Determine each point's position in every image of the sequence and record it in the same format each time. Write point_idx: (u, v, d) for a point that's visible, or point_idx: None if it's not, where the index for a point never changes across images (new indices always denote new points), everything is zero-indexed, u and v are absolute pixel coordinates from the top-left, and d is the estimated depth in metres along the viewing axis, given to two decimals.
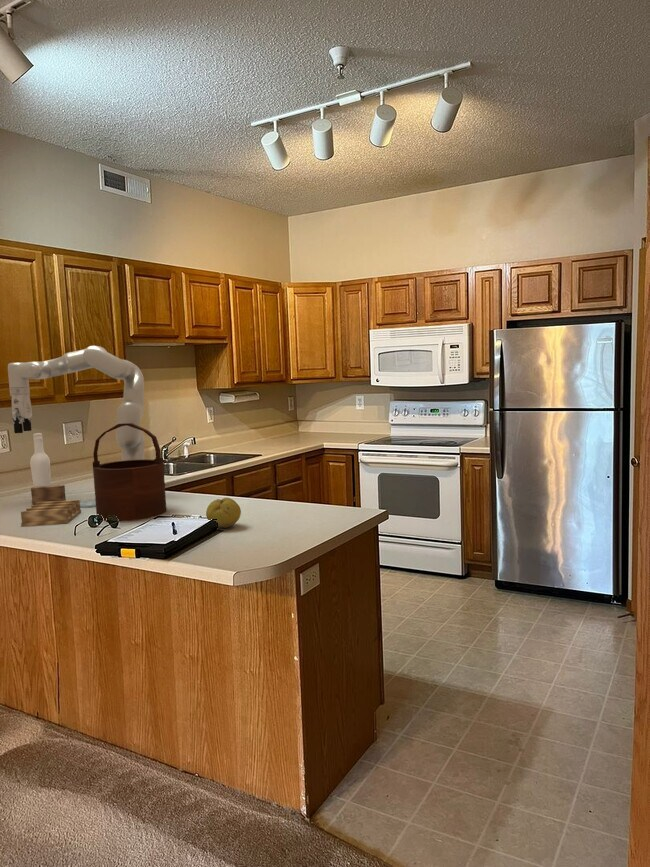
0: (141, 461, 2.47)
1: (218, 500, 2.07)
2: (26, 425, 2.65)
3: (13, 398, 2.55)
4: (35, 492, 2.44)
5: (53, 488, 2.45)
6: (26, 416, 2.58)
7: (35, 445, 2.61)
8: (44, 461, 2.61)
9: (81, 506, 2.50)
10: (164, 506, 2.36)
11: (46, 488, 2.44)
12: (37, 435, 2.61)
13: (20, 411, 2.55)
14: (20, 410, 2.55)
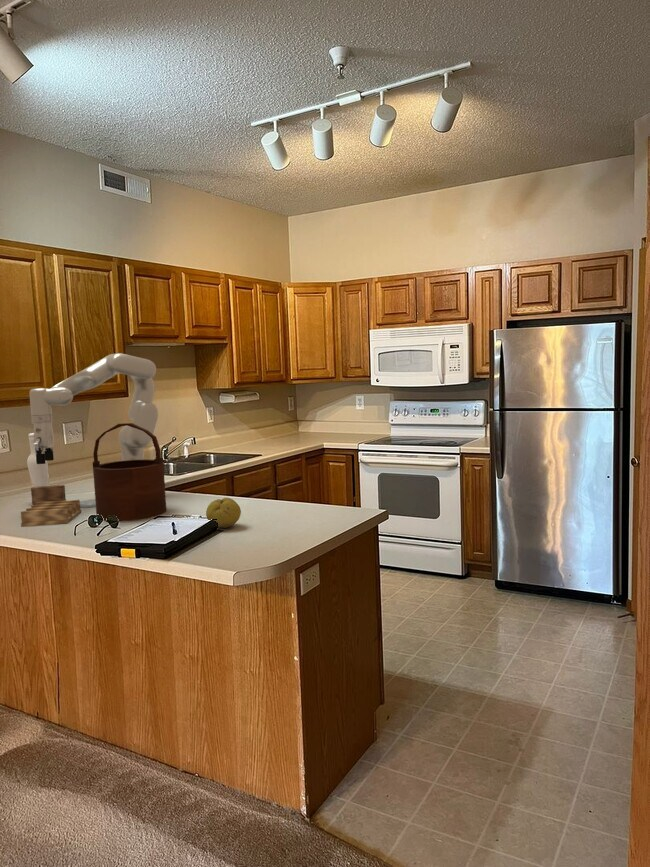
0: (141, 461, 2.47)
1: (218, 500, 2.07)
2: (48, 454, 2.49)
3: (35, 426, 2.39)
4: (35, 492, 2.44)
5: (53, 488, 2.45)
6: (49, 445, 2.42)
7: (31, 446, 2.59)
8: None
9: (81, 506, 2.50)
10: (164, 506, 2.36)
11: (46, 488, 2.44)
12: (32, 436, 2.58)
13: (43, 440, 2.39)
14: (43, 439, 2.39)
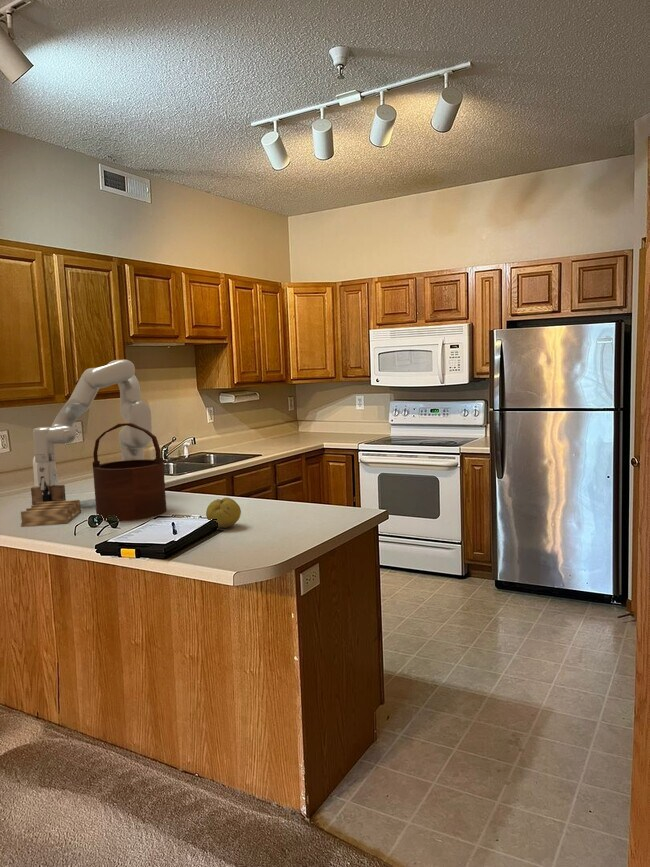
0: (141, 461, 2.47)
1: (218, 500, 2.07)
2: None
3: (39, 466, 2.40)
4: (35, 492, 2.44)
5: (53, 488, 2.44)
6: (52, 484, 2.43)
7: None
8: None
9: (81, 506, 2.50)
10: (164, 506, 2.36)
11: (46, 488, 2.44)
12: None
13: (46, 480, 2.40)
14: (46, 478, 2.40)
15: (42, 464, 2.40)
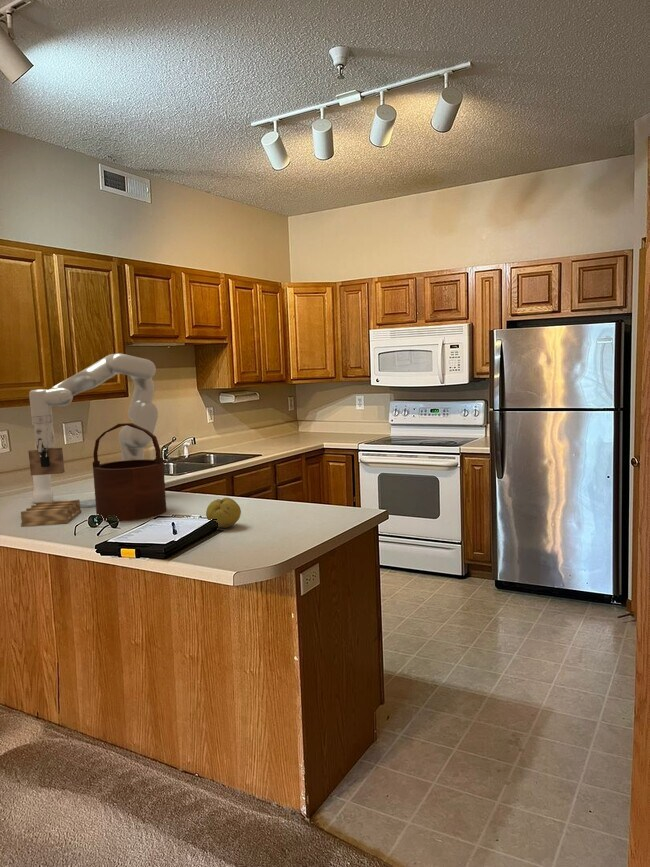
0: (141, 461, 2.47)
1: (218, 500, 2.07)
2: None
3: (36, 428, 2.39)
4: (32, 455, 2.43)
5: (51, 450, 2.43)
6: (50, 446, 2.42)
7: None
8: None
9: (81, 506, 2.50)
10: (164, 506, 2.36)
11: None
12: None
13: (44, 441, 2.39)
14: (44, 440, 2.39)
15: (39, 426, 2.39)
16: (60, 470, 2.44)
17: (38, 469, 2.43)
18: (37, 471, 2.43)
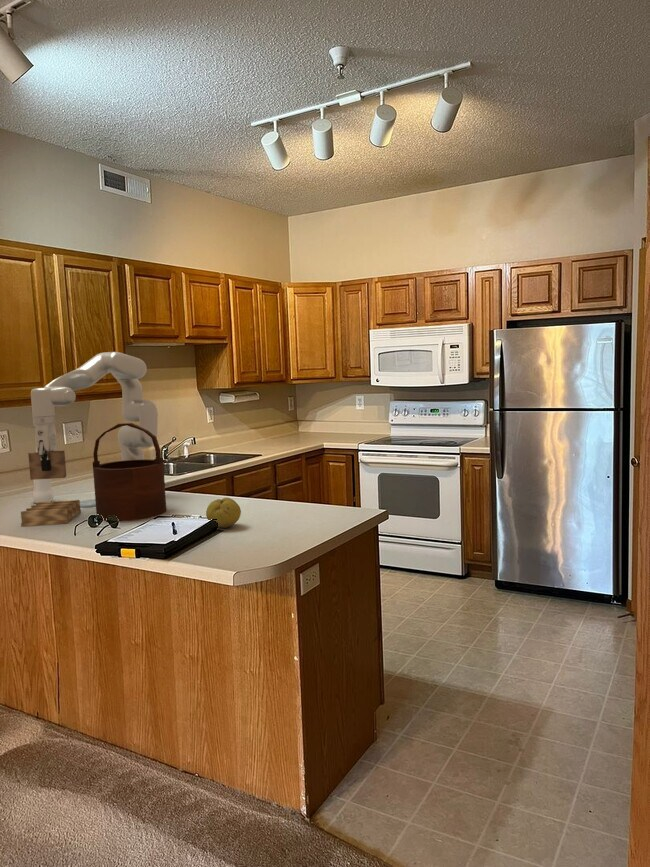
0: (141, 461, 2.47)
1: (218, 500, 2.07)
2: None
3: (37, 429, 2.24)
4: (33, 458, 2.27)
5: (52, 453, 2.28)
6: (52, 449, 2.27)
7: None
8: None
9: (81, 506, 2.50)
10: (164, 506, 2.36)
11: None
12: None
13: (45, 444, 2.24)
14: (45, 442, 2.24)
15: (40, 427, 2.24)
16: (62, 474, 2.29)
17: (38, 473, 2.28)
18: (37, 475, 2.28)
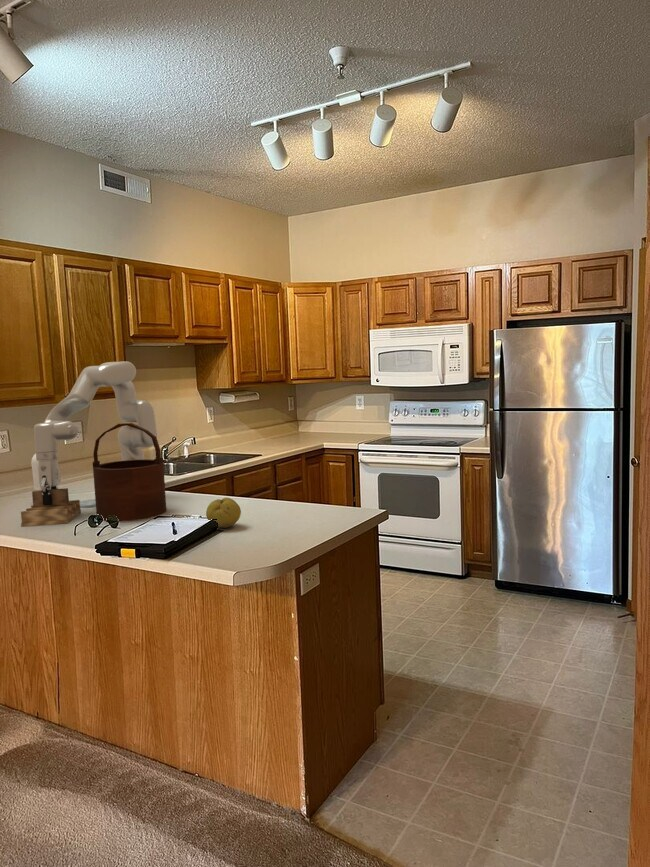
0: (141, 461, 2.47)
1: (218, 500, 2.07)
2: None
3: (40, 464, 2.25)
4: (36, 496, 2.29)
5: (56, 492, 2.29)
6: (55, 484, 2.28)
7: None
8: None
9: (81, 506, 2.50)
10: (164, 506, 2.36)
11: None
12: None
13: (48, 479, 2.25)
14: (48, 478, 2.25)
15: (44, 462, 2.25)
16: None
17: None
18: None
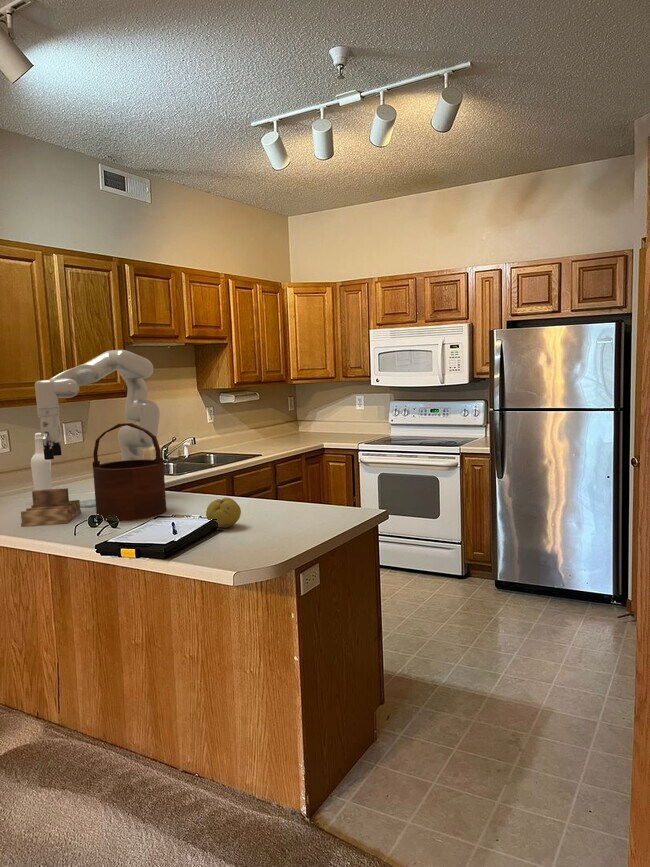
0: (141, 461, 2.47)
1: (218, 500, 2.07)
2: (55, 449, 2.38)
3: (42, 420, 2.28)
4: (36, 496, 2.29)
5: (56, 491, 2.29)
6: (57, 440, 2.31)
7: (36, 445, 2.61)
8: (44, 461, 2.61)
9: (81, 506, 2.50)
10: (164, 506, 2.36)
11: (48, 492, 2.29)
12: (38, 435, 2.61)
13: (50, 435, 2.28)
14: (50, 434, 2.28)
15: (45, 418, 2.28)
16: None
17: None
18: None
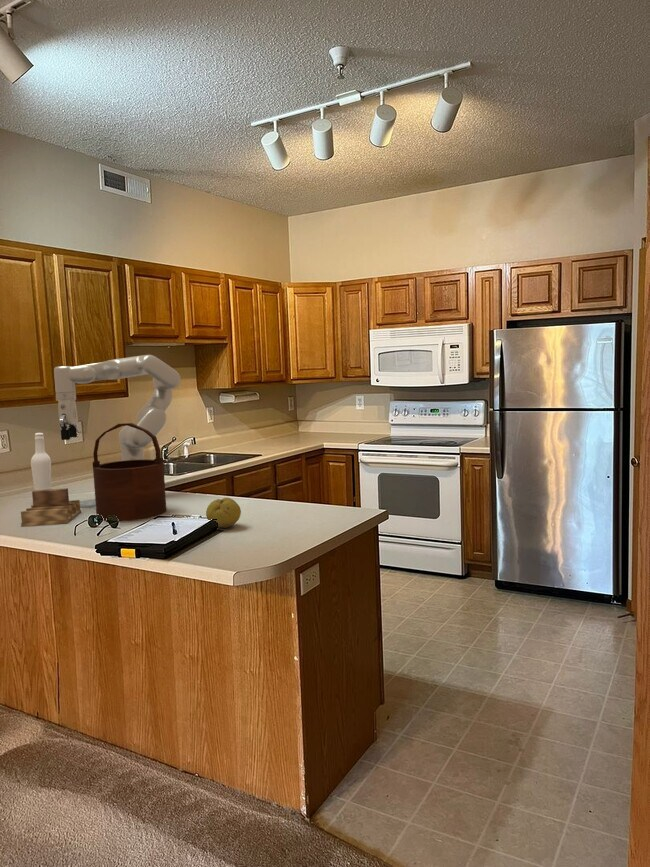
0: (141, 461, 2.47)
1: (218, 500, 2.07)
2: (71, 431, 2.55)
3: (60, 403, 2.45)
4: (36, 496, 2.29)
5: (56, 491, 2.29)
6: (73, 422, 2.48)
7: (36, 445, 2.62)
8: (44, 461, 2.61)
9: (81, 506, 2.50)
10: (164, 506, 2.36)
11: (48, 492, 2.29)
12: (38, 435, 2.61)
13: (67, 417, 2.45)
14: (67, 416, 2.45)
15: (63, 401, 2.45)
16: None
17: None
18: None
